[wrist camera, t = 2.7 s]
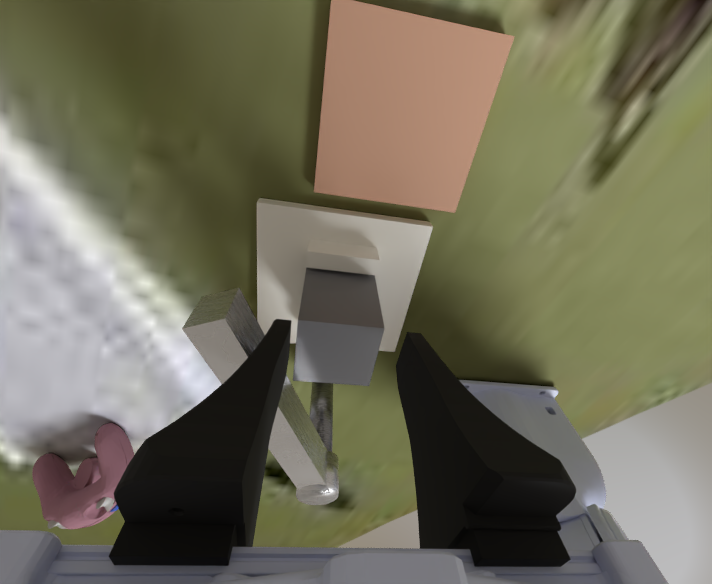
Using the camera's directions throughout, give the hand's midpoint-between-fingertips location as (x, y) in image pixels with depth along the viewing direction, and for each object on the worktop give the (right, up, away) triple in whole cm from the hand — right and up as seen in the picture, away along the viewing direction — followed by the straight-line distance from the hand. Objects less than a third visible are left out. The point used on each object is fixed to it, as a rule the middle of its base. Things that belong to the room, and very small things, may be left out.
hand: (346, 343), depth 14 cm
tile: (+3, +11, +3) cm, 12 cm away
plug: (-1, +2, +7) cm, 7 cm away
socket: (-1, +1, +9) cm, 9 cm away
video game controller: (-24, -13, +17) cm, 32 cm away
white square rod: (-3, -3, +3) cm, 6 cm away
